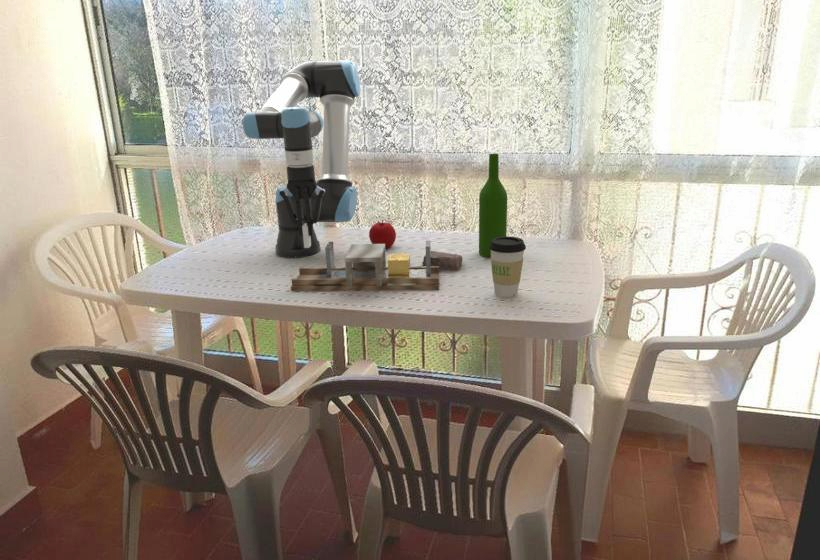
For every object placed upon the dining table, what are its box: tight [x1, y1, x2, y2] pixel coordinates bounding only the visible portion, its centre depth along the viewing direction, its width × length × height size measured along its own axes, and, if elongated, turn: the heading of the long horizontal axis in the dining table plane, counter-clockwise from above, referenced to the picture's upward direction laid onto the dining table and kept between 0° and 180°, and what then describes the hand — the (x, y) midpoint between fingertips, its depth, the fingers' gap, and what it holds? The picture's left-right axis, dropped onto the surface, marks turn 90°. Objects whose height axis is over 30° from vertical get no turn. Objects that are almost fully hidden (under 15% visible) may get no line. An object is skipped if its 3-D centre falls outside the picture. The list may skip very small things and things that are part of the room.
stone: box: [421, 250, 463, 272], centre depth 196 cm, size 9×12×5 cm
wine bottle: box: [478, 153, 508, 259], centre depth 201 cm, size 9×9×32 cm
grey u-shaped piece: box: [324, 239, 432, 278], centre depth 182 cm, size 30×8×10 cm, turn 87°
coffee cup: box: [489, 235, 527, 298], centre depth 170 cm, size 10×10×15 cm
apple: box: [368, 219, 397, 249], centre depth 217 cm, size 9×9×10 cm
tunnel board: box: [290, 243, 440, 292], centre depth 183 cm, size 42×14×10 cm, turn 87°
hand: (307, 246), depth 182 cm, fingers closed
